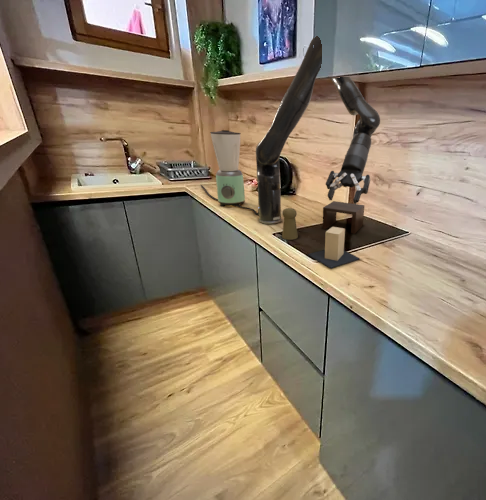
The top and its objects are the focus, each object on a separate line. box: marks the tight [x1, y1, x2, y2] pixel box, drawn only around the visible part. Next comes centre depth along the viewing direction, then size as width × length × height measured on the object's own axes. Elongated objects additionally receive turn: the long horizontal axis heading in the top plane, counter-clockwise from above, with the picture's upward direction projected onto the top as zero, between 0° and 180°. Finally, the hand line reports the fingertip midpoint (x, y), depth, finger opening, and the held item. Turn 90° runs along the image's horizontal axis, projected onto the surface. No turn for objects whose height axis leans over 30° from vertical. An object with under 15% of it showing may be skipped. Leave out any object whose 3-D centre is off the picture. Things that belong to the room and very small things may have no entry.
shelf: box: [322, 200, 365, 235], centre depth 127 cm, size 12×14×9 cm
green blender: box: [209, 129, 246, 207], centre depth 149 cm, size 19×13×35 cm
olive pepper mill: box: [281, 207, 299, 241], centre depth 113 cm, size 6×6×11 cm
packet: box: [324, 226, 346, 261], centre depth 98 cm, size 4×6×9 cm
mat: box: [307, 249, 360, 270], centre depth 100 cm, size 12×12×1 cm
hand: (342, 200), depth 99 cm, fingers open, 8 cm apart
